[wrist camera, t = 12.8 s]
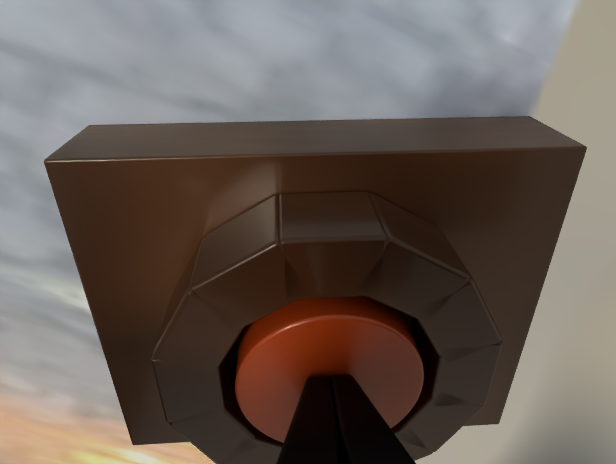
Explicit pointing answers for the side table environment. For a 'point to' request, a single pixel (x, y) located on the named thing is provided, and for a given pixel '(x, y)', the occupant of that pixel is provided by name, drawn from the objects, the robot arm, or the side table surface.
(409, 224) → the button block
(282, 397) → the button
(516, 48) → the side table surface
